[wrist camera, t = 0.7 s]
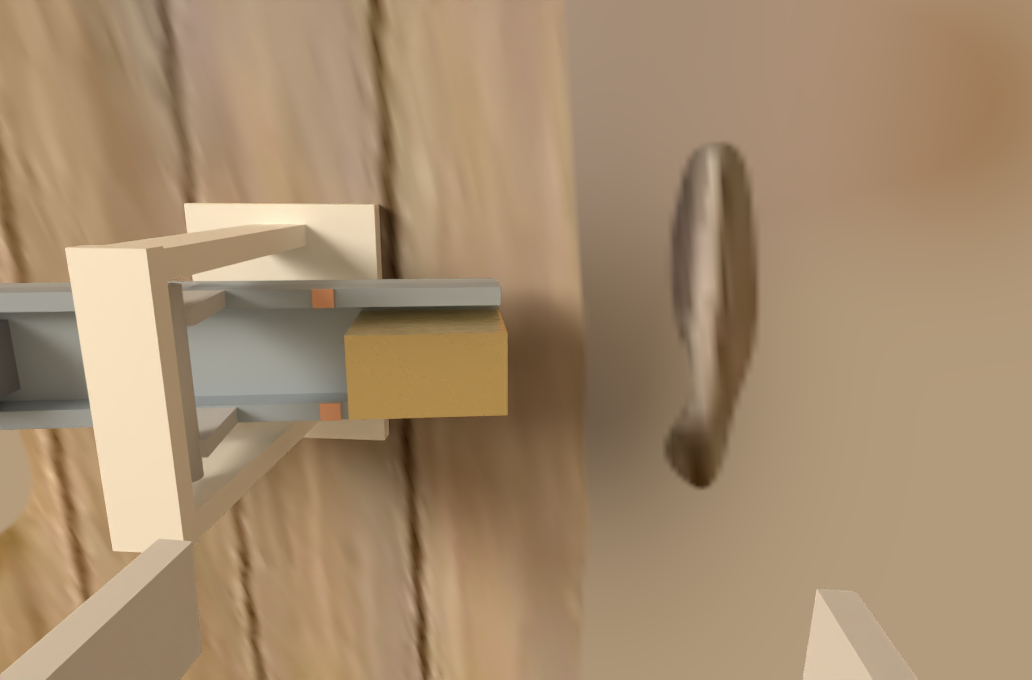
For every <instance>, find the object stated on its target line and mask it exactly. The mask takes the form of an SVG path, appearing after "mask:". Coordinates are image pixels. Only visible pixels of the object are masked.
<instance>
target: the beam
mask: <svg viewBox="0 0 1032 680" xmlns="http://www.w3.org/2000/svg"><path fill="white" fill-rule="evenodd" d="M167 284H168V292H169V300H170V308H171V316H172V324H173V332H174V341H175V349H176V357H177V365H178V373H179V381H180V389H181V398H182V406H183V414H184V422H185V430H186V438H187V447H188V455H189V463H190V471H191V479H192V483H193V482H196V481H198V480H200V479H201V478H202V477H203V476H204V470H203V462H202V458H205V457H209V456H210V454H211V453H212V452H213V451H214V450H215V449H216V448H217V446H218V445H219V444H220V443H221V442H222V441H223V440H224V438H225V437H226V436H227V435H228V434H229V433H230V431H231V430H232V429H233V428H234V427H235V426H236V425H237V423H243V422H276V421H309V420H321V421H336V420H342V419H349V412H348V395H347V378H346V362H345V345H344V335H345V334H346V332H347V331H348V329H349V328H350V326H351V325H352V323H353V322H354V320H355V319H356V317H357V316H358V314H359V313H360V311H393V310H458V309H498V305H501V287H500V284H499V282H498V280H497V278H453V279H360V280H266V281H173V282H167ZM79 427H93V421H92V415H91V409H90V402H89V396H88V390H87V383H86V377H85V371H84V364H83V358H82V352H81V345H80V339H79V333H78V326H77V320H76V314H75V307H74V301H73V295H72V288H71V283H0V430H13V429H46V428H79Z"/></svg>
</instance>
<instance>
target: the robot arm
mask: <svg viewBox="0 0 1032 680" xmlns="http://www.w3.org/2000/svg"><path fill="white" fill-rule="evenodd" d="M201 652H202V644H201V632H200V621H199V609H198V597H197V586H196V574H195V563H194V551H193V541H182V540H169V539H158V540H157V541H155V542H154V543H153V544H152V545H151V546H150V547H148V548H147V549H146V550H145V551H144V552H143V553H141V554H140V555H139V556H138V557H137V558H136V559H134V560H133V561H132V562H131V563H130V564H129V565H127V566H126V567H125V568H124V569H123V570H122V571H120V572H119V573H118V574H117V575H116V576H115V577H113V578H112V579H111V580H110V581H109V582H108V583H106V584H105V585H104V586H103V587H102V588H100V589H99V590H98V591H97V592H96V593H95V594H93V595H92V596H91V597H90V598H89V599H88V600H86V601H85V602H84V603H83V604H82V605H81V606H79V607H78V608H77V609H76V610H75V611H74V612H72V613H71V614H70V615H69V616H68V617H67V618H65V619H64V620H63V621H62V622H61V623H60V624H58V625H57V626H56V627H55V628H54V629H53V630H51V631H50V632H49V633H48V634H47V635H46V636H44V637H43V638H42V639H41V640H40V641H38V642H37V643H36V644H35V645H34V646H33V647H31V648H30V649H29V650H28V651H27V652H26V653H24V654H23V655H22V656H21V657H20V658H19V659H17V660H16V661H15V662H14V663H13V664H12V665H10V666H9V667H8V668H7V669H6V670H5V671H3V672H2V673H1V674H0V680H180V679H181V678H182V676H183V675H184V674H185V673H186V671H187V670H188V669H189V668H190V666H191V665H192V664H193V663H194V661H195V660H196V659H197V658H198V656H199V655H200V654H201ZM803 680H918V679H917V677H916V676H915V674H914V673H913V671H912V670H911V669H910V667H909V666H908V664H907V663H906V662H905V660H904V659H903V658H902V656H901V655H900V653H899V652H898V650H897V649H896V647H895V646H894V645H893V643H892V642H891V640H890V639H889V637H888V636H887V635H886V633H885V632H884V630H883V629H882V628H881V626H880V625H879V623H878V622H877V620H876V619H875V618H874V616H873V615H872V613H871V612H870V611H869V609H868V608H867V606H866V605H865V604H864V602H863V601H862V599H861V598H860V596H859V595H858V594H857V592H855V591H844V590H843V591H842V590H831V589H818V588H817V591H816V597H815V604H814V610H813V616H812V623H811V629H810V636H809V642H808V648H807V655H806V661H805V669H804V675H803Z"/></svg>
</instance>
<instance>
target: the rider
mask: <svg viewBox="0 0 1032 680" xmlns="http://www.w3.org/2000/svg"><path fill="white" fill-rule="evenodd" d="M344 345H345V362H346V378H347V395H348V412H349V420H367V419H400V418H432V417H465V416H498V415H508V333H507V330H506V327H505V325H504V322H503V319H502V317H501V314H500V311H499V309H458V310H393V311H360V313H359V314H358V316H357V317H356V319H355V320H354V322H353V323H352V325H351V326H350V328H349V329H348V331H347V332H346V334H345V335H344Z"/></svg>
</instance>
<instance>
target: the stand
mask: <svg viewBox="0 0 1032 680" xmlns="http://www.w3.org/2000/svg"><path fill="white" fill-rule="evenodd" d="M184 208H185V216H186V225H187V233H186V234H179V235H172V236H165V237H158V238H151V239H144V240H137V241H130V242H123V243H116V244H109V245H82V246H75V247H67V248H65V250H66V257H67V263H68V269H69V276H70V282H71V288H72V295H73V301H74V307H75V314H76V320H77V326H78V333H79V339H80V345H81V352H82V358H83V364H84V371H85V377H86V383H87V390H88V396H89V402H90V409H91V415H92V421H93V428H94V434H95V441H96V447H97V453H98V460H99V466H100V472H101V479H102V485H103V491H104V498H105V504H106V510H107V517H108V523H109V529H110V536H111V542H112V548H113V551H125V552H144V551H145V550H146V549H147V548H148V547H150V546H151V545H152V544H153V543H154V542H155V541H157V540H158V539H169V540H182V541H193V546H194V545H195V544H196V543H197V542H198V541H199V538H200V537H201V536H202V535H203V534H204V533H205V532H206V531H207V530H208V529H209V528H210V527H211V526H212V525H213V524H214V523H215V522H216V521H217V520H219V519H220V518H221V517H222V516H223V515H224V514H225V513H226V512H227V511H228V510H229V509H230V508H231V507H232V506H233V505H234V504H235V503H236V502H237V501H238V500H239V499H240V498H241V497H242V496H243V495H244V494H245V493H246V492H247V491H248V490H249V489H250V488H251V487H252V486H253V485H254V484H255V483H257V482H258V481H259V480H260V479H261V478H262V477H263V476H264V475H265V474H266V473H267V472H268V471H269V470H270V469H271V468H272V467H273V466H274V465H275V464H276V463H277V462H278V461H279V460H280V459H281V458H282V457H283V456H284V455H285V454H286V453H287V452H288V451H289V450H290V449H291V448H292V447H293V446H295V445H296V444H297V443H298V442H299V441H300V440H301V439H302V438H328V439H358V440H386V438H387V437H388V435H389V419H367V420H349V419H342V420H336V421H321V420H309V421H276V422H243V423H237V425H236V426H235V427H234V428H233V429H232V430H231V431H230V433H229V434H228V435H227V436H226V437H225V438H224V440H223V441H222V442H221V443H220V444H219V445H218V446H217V448H216V449H215V450H214V451H213V452H212V453H211V454H210V456H209V457H205V458H202V462H203V470H204V476H203V477H202V478H201V479H200V480H198V481H196V482H193V483H192V479H191V471H190V463H189V455H188V447H187V438H186V430H185V422H184V414H183V406H182V398H181V389H180V381H179V373H178V365H177V357H176V349H175V341H174V332H173V324H172V316H171V308H170V300H169V292H168V284H167V281H170V280H174V279H178V278H182V277H186V276H190V275H192V278H193V281H266V280H360V279H382V261H381V238H380V216H379V204H272V203H186V204H184Z"/></svg>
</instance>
